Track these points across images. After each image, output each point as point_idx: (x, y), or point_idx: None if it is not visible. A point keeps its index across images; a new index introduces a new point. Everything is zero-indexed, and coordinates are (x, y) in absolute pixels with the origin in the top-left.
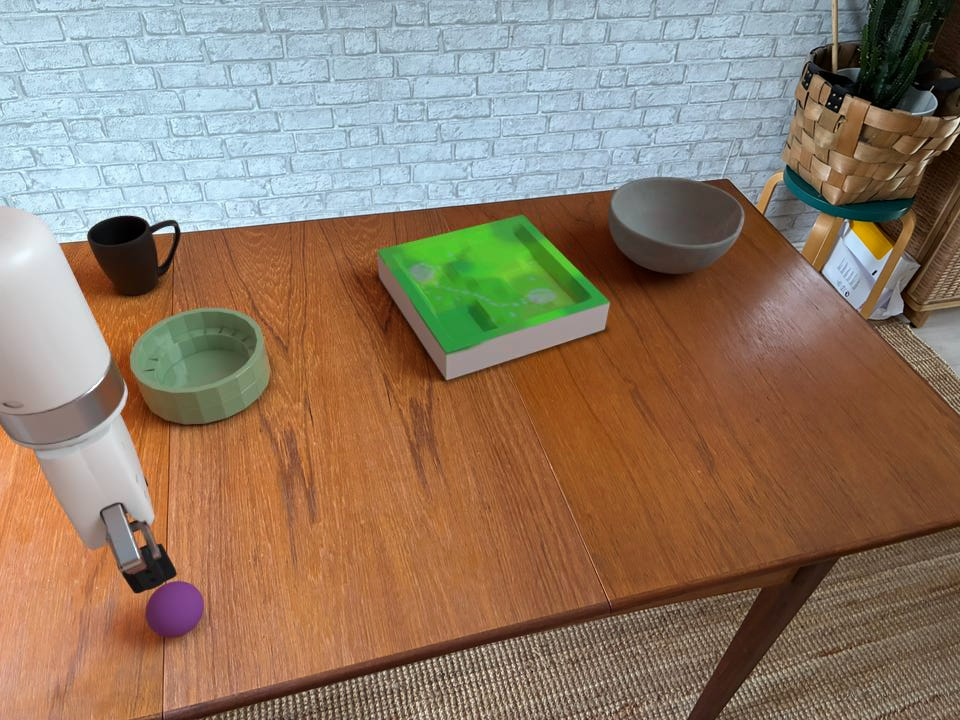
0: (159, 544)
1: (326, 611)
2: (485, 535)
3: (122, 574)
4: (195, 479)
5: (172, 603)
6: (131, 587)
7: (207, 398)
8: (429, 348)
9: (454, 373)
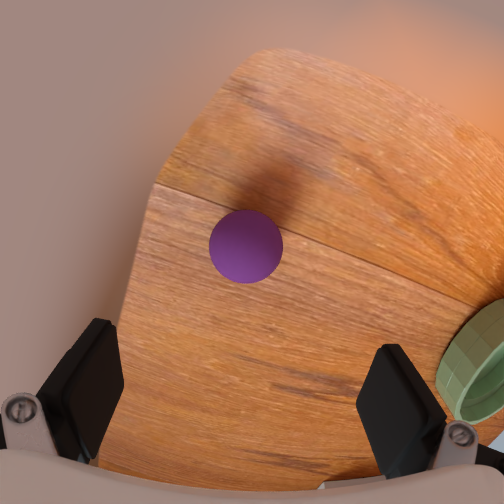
0: (85, 463)
1: (169, 354)
2: (173, 452)
3: (56, 370)
4: (409, 311)
5: (231, 259)
6: (85, 331)
7: (464, 369)
8: (355, 484)
9: (321, 488)
